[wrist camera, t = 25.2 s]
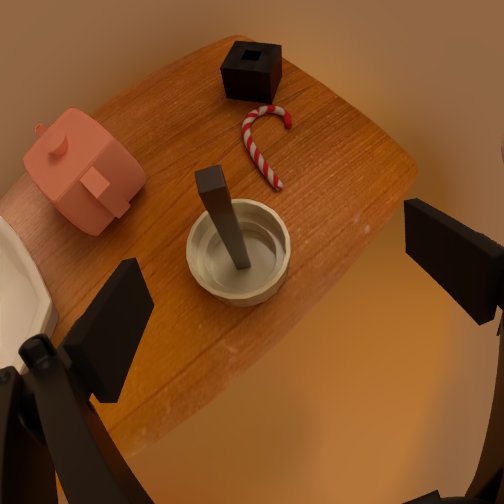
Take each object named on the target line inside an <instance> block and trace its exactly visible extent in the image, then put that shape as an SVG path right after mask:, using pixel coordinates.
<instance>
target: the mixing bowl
mask: <svg viewBox="0 0 504 504" xmlns="http://www.w3.org/2000/svg"><path fill="white" fill-rule="evenodd" d="M231 200H232V203H233V206H234V209H235V213H236V216H237V219H238V222H239V225H240V229H241V232H242V235H243V238H244V241H245V245H246V248H247V251H248V254H249V258H250V262H251V267H248V268H244V269H241V270H237V269H236V267H235V265H234V263H233V261H232V259H231V257H230V255H229V253H228V251H227V249H226V247H225V245H224V243H223V241H222V239H221V237H220V235H219V233H218V231H217V229H216V227H215V225H214V223H213V222H212V220H211V218H210V216H209V214H208V212H207V211H205V212H204V213H203V214H202V215H201V216H200V217H199V218H198V220H197V221H196V222H195V223H194V225H193V226H192V229H191V231H190V234H189V236H188V239H187V248H186V258H187V261H188V265H189V269H190V272H191V273H192V274H193V276H194V277H195V279H196V280H197V282H198V283H199V284H200V285H201V286H202V287H203V288H204V289H206V290H207V291H208V292H209V293H210V294H212V295H213V296H214V297H216V298H217V299H218V300H220V301H221V302H223V303H226V304H229V305H233V306H253V305H256V304H259V303H262V302H264V301H266V300H267V299H269V298H270V297H271V296H273V295H274V294H275V293H276V292H277V291H278V290H279V288H280V287H281V286H282V284H283V283H284V281H285V279H286V275H287V272H288V269H289V262H290V254H291V248H290V236H289V233H288V231H287V228H286V226H285V223H284V222H283V220H282V219H281V218H280V217H279V216H278V215H277V213H276V212H275V211H274V210H272V209H271V208H269V207H267V206H266V205H264V204H262V203H260V202H257V201H253V200H249V199H231Z"/></svg>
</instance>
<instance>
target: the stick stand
mask: <svg viewBox="0 0 504 504" xmlns="http://www.w3.org/2000/svg"><path fill="white" fill-rule="evenodd" d="M281 50H282V49H281V45H276V44H268V43H258V42H247V41H235V42H234V44H233V46H232V48H231V49H230V51H229V53H228V55H227V56H226V58H225V60H224V62H223V63H222V65H221V67H220V70H221V74H222V79H223V84H224V89H225V93H226V98H229V99H237V100H245V101H252V102H259V103H266V104H272V102H273V99H274V96H275V93H276V91H277V88H278V85H279V82H280V79H281V77H282V51H281Z"/></svg>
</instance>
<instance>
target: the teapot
mask: <svg viewBox="0 0 504 504" xmlns="http://www.w3.org/2000/svg"><path fill="white" fill-rule="evenodd" d="M34 130H35V131H36V132H37V133H38V135H39V136H40V138H39V140H38V141H37V142H36V143H35V144H34V145H33V147H32V148H31V149H30V150H29V151H28V153H27V154H26V155H25V157H24V158H23V163H24V165H25V167H26V169H27V171H28V173H29V175H30V176H31V178H32V179H33V181H34V182H35V184H36V185H37V186H38V188H39V189H40V190H41V191H42V193H43V194H44V195H45V196H46V198H47V199H48V200H49V201H50V202H51V203H52V204H53V205H54V206H55V207H56V208H57V209H58V210H59V211H60V212H61V213H62V214H63V215H64V216H65V217H66V218H67V219H68V220H69V221H70V222H72V223H73V224H74V225H75V226H76V227H78V228H79V229H80V230H82V231H83V232H85V233H87V234H89V235H93V236H98V235H99V234H100V233H101V232H102V231H103V230H104V229H105V228H106V227H107V226H108V225H109V223H110V222H111V221H112V220H113V219H114V218H115V217H117V218H119V219H120V217H121V216H122V215H123V214H124V213H125V212H126V211H127V210H128V209H129V208H130V206H131V205H130V204H129V203H128V202H129V201H130V200H131V199H132V198H133V197H134V195H135V194H136V193H137V192H138V191H139V190H140V189H141V187H142V186H143V185H144V184H145V182H146V177H145V173H144V171H143V169H142V168H141V166H140V165H139V163H138V162H137V161H136V160H135V158H134V157H133V156H132V155H131V154H130V153H129V152H128V151H127V149H126V148H125V147H124V146H123V145H122V144H121V143H120V142H119V141H118V140H117V139H116V138H115V137H113V136H112V135H111V134H110V133H109V132H108V131H107V130H106V129H105V128H103V127H102V126H101V125H100V124H99V123H97V122H96V121H95V120H94V119H92V118H91V117H89V116H88V115H86V114H85V113H83V112H82V111H80V110H78V109H76V108H69V109H68V110H67V111H66V112H65V113H64V114H62V115H61V116H60V118H58V119H57V120H56V121H55V122H54V123H53V124H52V126H51V127H50V128H48V127H46V126H44V125H42V124H41V123H39V124H38V125H37V126H36V127H35V128H34Z"/></svg>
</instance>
